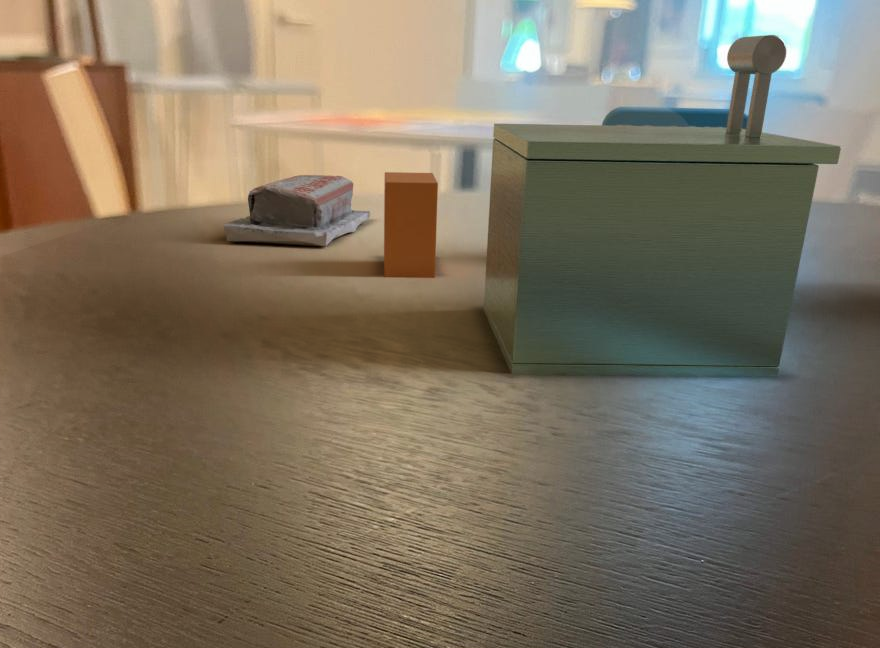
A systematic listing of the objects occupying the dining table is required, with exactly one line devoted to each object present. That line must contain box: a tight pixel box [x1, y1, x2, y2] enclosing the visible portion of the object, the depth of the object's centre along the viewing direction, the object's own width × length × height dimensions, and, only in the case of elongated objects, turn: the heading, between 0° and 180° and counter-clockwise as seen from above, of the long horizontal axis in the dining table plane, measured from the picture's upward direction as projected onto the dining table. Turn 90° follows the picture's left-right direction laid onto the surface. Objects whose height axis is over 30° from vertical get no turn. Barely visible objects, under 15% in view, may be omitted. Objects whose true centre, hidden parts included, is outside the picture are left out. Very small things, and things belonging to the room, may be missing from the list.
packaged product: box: [223, 174, 371, 247], centre depth 100 cm, size 18×5×10 cm
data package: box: [601, 106, 748, 129], centre depth 86 cm, size 12×4×12 cm, turn 82°
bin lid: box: [492, 34, 842, 165], centre depth 56 cm, size 16×17×6 cm
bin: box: [483, 138, 820, 378], centre depth 60 cm, size 15×17×11 cm
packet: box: [383, 171, 439, 279], centre depth 83 cm, size 4×8×7 cm, turn 1°
